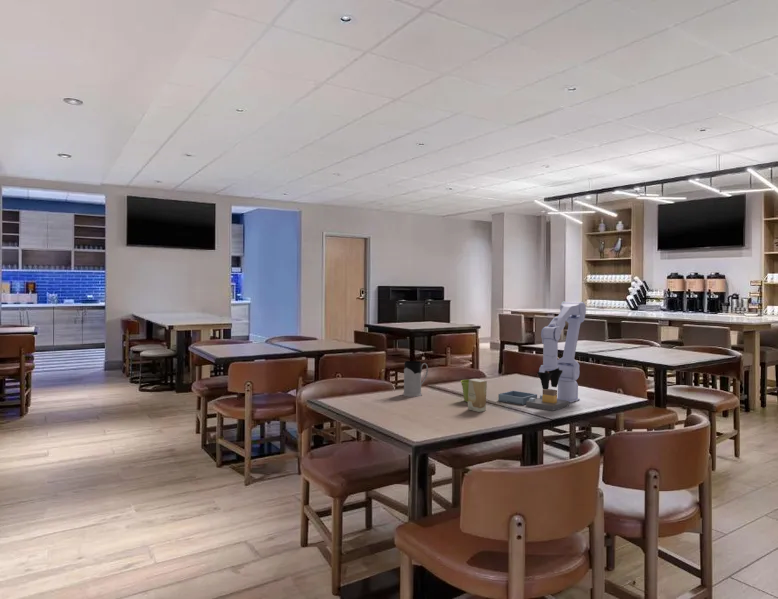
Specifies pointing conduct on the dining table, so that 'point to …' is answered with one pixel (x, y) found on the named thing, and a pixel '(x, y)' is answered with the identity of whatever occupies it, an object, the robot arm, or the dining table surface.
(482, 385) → the skincare box
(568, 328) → the robot arm
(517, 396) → the parts tray
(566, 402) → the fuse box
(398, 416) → the dining table surface
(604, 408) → the dining table surface
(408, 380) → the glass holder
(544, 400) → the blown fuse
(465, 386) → the plant pot
